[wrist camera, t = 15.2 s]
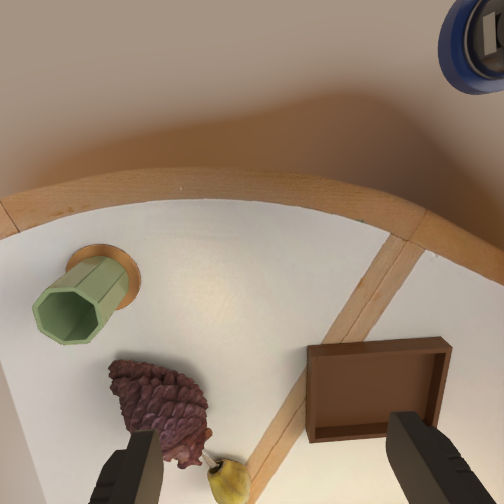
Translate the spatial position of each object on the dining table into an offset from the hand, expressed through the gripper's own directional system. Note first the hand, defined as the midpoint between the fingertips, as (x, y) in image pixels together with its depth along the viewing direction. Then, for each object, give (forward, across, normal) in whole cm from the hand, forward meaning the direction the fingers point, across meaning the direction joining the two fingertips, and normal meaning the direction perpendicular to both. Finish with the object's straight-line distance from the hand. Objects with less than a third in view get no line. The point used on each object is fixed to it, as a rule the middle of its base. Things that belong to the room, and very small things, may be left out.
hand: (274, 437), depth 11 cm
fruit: (+30, +5, +40) cm, 50 cm away
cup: (+30, +18, +6) cm, 35 cm away
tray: (+30, -18, +26) cm, 44 cm away
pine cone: (+30, +12, +23) cm, 40 cm away
